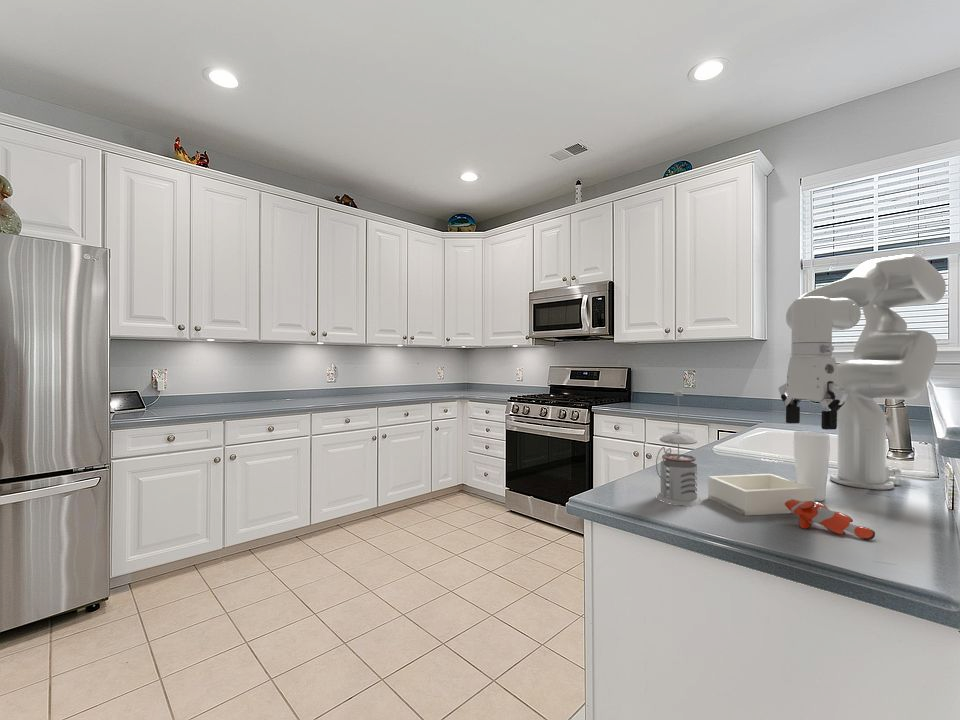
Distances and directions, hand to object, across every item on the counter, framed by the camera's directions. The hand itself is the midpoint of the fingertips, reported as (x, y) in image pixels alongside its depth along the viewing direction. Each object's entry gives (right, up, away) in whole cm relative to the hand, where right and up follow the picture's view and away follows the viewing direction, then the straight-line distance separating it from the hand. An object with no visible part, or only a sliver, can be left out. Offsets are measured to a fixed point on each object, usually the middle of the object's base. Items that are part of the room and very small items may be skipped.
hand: (810, 426), depth 105 cm
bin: (-14, -17, -4) cm, 22 cm away
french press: (-31, -17, 0) cm, 35 cm away
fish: (-11, -18, -18) cm, 27 cm away
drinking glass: (+1, -17, 0) cm, 17 cm away
